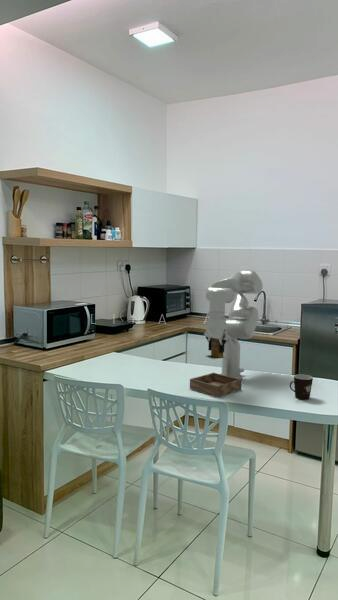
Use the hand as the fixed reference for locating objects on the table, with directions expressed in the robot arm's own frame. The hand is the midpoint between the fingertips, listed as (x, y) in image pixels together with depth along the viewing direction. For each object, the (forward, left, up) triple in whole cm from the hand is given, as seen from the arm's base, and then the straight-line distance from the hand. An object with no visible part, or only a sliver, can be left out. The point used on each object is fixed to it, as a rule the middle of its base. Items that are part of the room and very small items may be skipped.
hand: (216, 350), depth 223 cm
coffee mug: (-19, +35, -20) cm, 44 cm away
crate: (0, 0, -19) cm, 19 cm away
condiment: (0, 0, -3) cm, 3 cm away
